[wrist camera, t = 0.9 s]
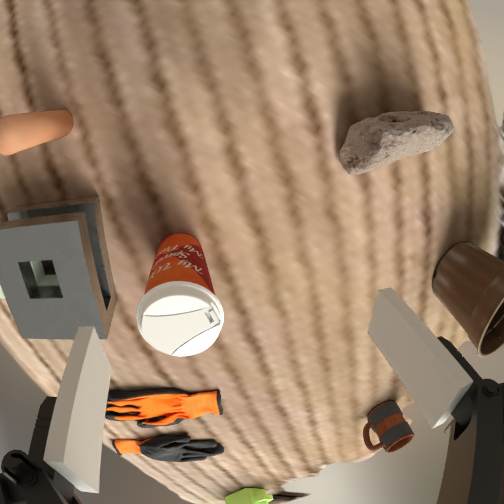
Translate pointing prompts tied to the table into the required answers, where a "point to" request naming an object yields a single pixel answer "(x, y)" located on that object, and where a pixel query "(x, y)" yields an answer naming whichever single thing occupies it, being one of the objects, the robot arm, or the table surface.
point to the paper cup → (180, 300)
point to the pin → (33, 129)
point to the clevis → (57, 269)
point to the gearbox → (249, 497)
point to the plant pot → (473, 294)
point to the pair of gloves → (164, 422)
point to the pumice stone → (392, 138)
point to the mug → (387, 428)
